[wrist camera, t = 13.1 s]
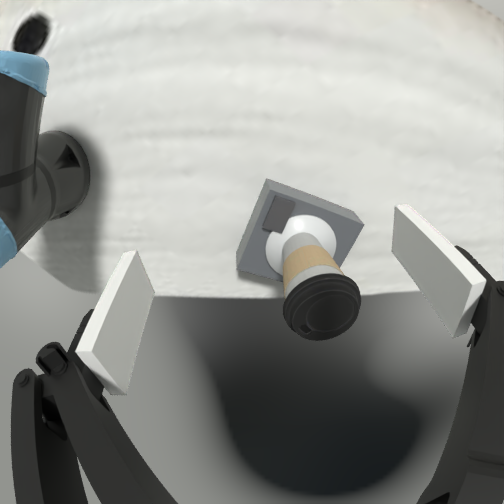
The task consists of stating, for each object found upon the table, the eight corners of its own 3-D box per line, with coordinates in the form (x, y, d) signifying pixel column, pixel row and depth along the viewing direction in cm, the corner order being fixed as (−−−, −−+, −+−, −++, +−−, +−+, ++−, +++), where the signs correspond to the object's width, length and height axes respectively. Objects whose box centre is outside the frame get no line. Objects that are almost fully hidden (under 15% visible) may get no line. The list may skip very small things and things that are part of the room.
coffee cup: (261, 263, 46) (270, 336, 33) (288, 211, 42) (312, 273, 29) (313, 281, 49) (336, 350, 36) (342, 234, 44) (380, 297, 32)
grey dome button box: (236, 252, 52) (236, 273, 46) (266, 178, 45) (270, 191, 40) (317, 276, 55) (325, 296, 50) (353, 211, 49) (366, 227, 43)
